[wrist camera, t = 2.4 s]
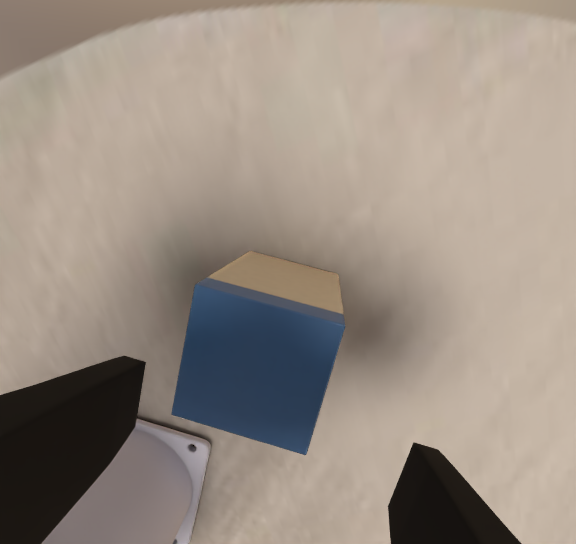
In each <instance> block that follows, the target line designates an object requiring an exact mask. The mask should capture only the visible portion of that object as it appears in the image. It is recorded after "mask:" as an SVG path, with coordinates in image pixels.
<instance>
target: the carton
mask: <svg viewBox="0 0 576 544" xmlns="http://www.w3.org/2000/svg"><path fill="white" fill-rule="evenodd" d="M344 329H345V321H344V313H343V306H342V298H341V291H340V283H339V276H338V274H336V273H332V272H328V271H324V270H321V269H317V268H313V267H309V266H305V265H302V264H298V263H294V262H290V261H286V260H283V259H279V258H275V257H271V256H267V255H264V254H260V253H256V252H252V251H249V252H247V253H246V254H244V255H243V256H241V257H239V258H238V259H236V260H234V261H233V262H231V263H229V264H228V265H226V266H225V267H223V268H221V269H220V270H218V271H216V272H215V273H213V274H212V275H210V276H208V277H207V278H205V279H203V280H202V281H200V282H199V283H197V284H196V285H195V287H194V293H193V298H192V304H191V309H190V315H189V320H188V326H187V331H186V337H185V342H184V348H183V353H182V359H181V364H180V370H179V375H178V381H177V386H176V392H175V397H174V403H173V408H172V415H174V416H178V417H181V418H184V419H187V420H191V421H194V422H197V423H201V424H204V425H207V426H211V427H214V428H217V429H221V430H224V431H227V432H230V433H234V434H237V435H240V436H244V437H247V438H250V439H254V440H257V441H260V442H264V443H267V444H270V445H273V446H277V447H280V448H283V449H287V450H290V451H293V452H297V453H300V454H303V455H306V454H307V451H308V448H309V445H310V441H311V438H312V435H313V431H314V428H315V425H316V421H317V418H318V415H319V412H320V408H321V405H322V402H323V398H324V395H325V392H326V389H327V385H328V382H329V379H330V375H331V372H332V369H333V365H334V362H335V359H336V356H337V352H338V349H339V346H340V342H341V339H342V336H343V333H344Z"/></svg>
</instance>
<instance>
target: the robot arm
mask: <svg viewBox="0 0 576 544" xmlns="http://www.w3.org/2000/svg"><path fill="white" fill-rule="evenodd" d="M145 364H146V362H144V361H140V360H137V359H134V358H130V357H127V356H122V357H118V358H114V359H111V360H108V361H105V362H102V363H99V364H96V365H93V366H90V367H87V368H84V369H81V370H78V371H75V372H72V373H69V374H66V375H63V376H60V377H57V378H54V379H51V380H48V381H45V382H42V383H39V384H36V385H33V386H29V387H26V388H23V389H19V390H16V391H13V392H9V393H6V394H3V395H0V544H189V543H190V541H191V536H192V532H193V527H194V523H195V518H196V514H197V509H198V505H199V500H200V496H201V491H202V487H203V482H204V478H205V473H206V469H207V464H208V460H209V455H210V450H211V445H210V443H209V442H208V441H207V440H205V439H202V438H199V437H196V436H192V435H189V434H186V433H183V432H179V431H176V430H173V429H170V428H166V427H163V426H160V425H156V424H153V423H150V422H147V421H143V420H140V419H137V413H138V407H139V401H140V395H141V389H142V382H143V376H144V370H145ZM191 444H193V445H195V446H196V447H193V446H192V445H191ZM388 511H389V525H390V538H391V544H521V543H520V542H519V541H518V539H517V538H516V537H515V536H514V535H513V534H512V533H511V532H510V530H509V529H508V528H507V527H506V526H505V525H504V524H503V523H502V521H501V520H500V519H499V518H498V517H497V516H496V515H495V513H494V512H493V511H492V510H491V509H490V508H489V506H488V505H487V504H486V503H485V502H484V501H483V500H482V498H481V497H480V496H479V495H478V494H477V493H476V491H475V490H474V489H473V488H472V487H471V486H470V485H469V483H468V482H467V481H466V480H465V479H464V478H463V476H462V475H461V474H460V473H459V472H458V471H457V470H456V468H455V467H454V466H453V465H452V464H451V463H450V462H449V461H448V460H447V459H446V457H445V456H444V455H443V454H442V453H441V452H440V451H439V450H437V449H434V448H431V447H427V446H424V445H421V444H417V443H413V445H412V448H411V450H410V453H409V455H408V458H407V460H406V463H405V465H404V468H403V470H402V473H401V475H400V478H399V480H398V483H397V485H396V488H395V490H394V493H393V495H392V498H391V500H390V503H389V505H388Z"/></svg>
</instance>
